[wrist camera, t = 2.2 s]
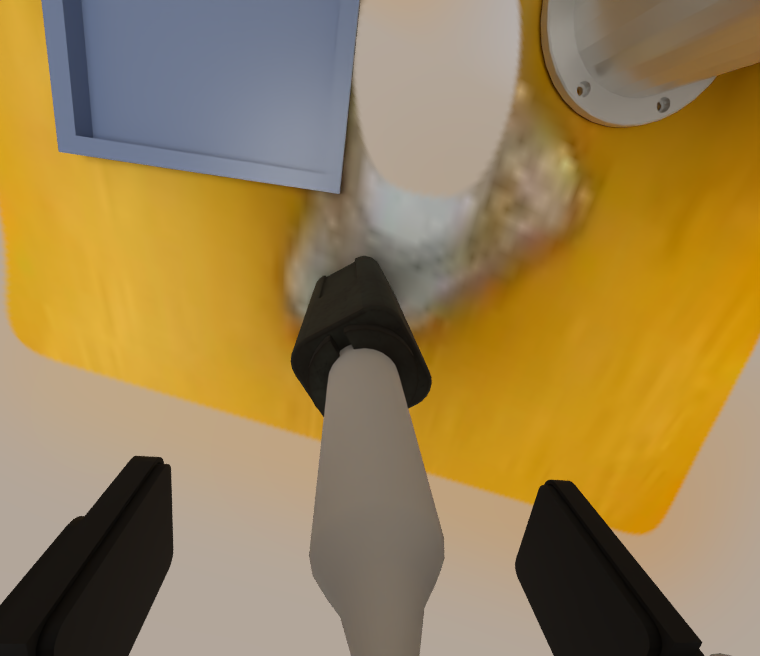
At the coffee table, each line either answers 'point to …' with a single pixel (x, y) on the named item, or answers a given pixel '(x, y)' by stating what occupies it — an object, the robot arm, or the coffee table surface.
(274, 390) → the coffee table surface
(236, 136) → the slate blue tray
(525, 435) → the coffee table surface
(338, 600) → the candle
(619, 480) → the coffee table surface
